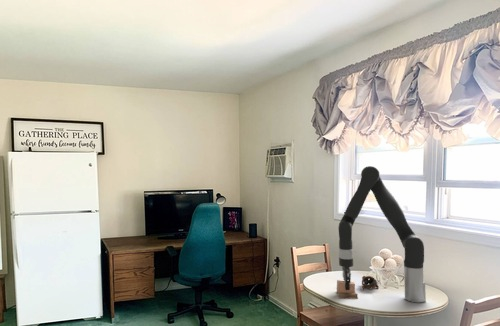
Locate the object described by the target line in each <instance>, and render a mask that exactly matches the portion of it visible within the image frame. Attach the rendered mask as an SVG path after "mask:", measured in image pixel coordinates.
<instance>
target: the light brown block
mask: <svg viewBox="0 0 500 326" xmlns="http://www.w3.org/2000/svg"><path fill="white" fill-rule="evenodd" d="M349 284H350V290H346V289H345V281H344V280H340V279H339V280H338V279H337V280H336V293H337V292H346V293H354V291H355V292H356V289H355V288H356V283H355V282H354V281H351V282H350V283H349Z"/></svg>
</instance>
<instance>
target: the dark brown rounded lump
mask: <svg viewBox="0 0 500 326" xmlns="http://www.w3.org/2000/svg"><path fill="white" fill-rule="evenodd" d="M361 279H362V280H361V285H362V286H361V289H362V291H364V290H371V289H373V288H376V289H379V285H378V284H379V282H378V281H377V279H376V278H375V277H374V276H372V275H368V276H367V275H363V276H362V277H361Z"/></svg>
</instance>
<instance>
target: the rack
mask: <svg viewBox="0 0 500 326" xmlns="http://www.w3.org/2000/svg"><path fill="white" fill-rule="evenodd" d="M336 294H337V297H338V299H346V300H347V299H348V300H349V299H352V300H357V299H359V297H358V293H356V290H355V291H354V293H346V292H337V291H336Z"/></svg>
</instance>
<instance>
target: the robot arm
mask: <svg viewBox="0 0 500 326" xmlns="http://www.w3.org/2000/svg"><path fill="white" fill-rule="evenodd" d="M360 175H361V176H360V181H359V183H358V186H357V188H356V190H355V192H354V194H353V195H352V198H351V199H350V201H349V203H348V205H347V207H346V209H345V212H344V214H343V215H342V217H341V219H340V221H339V224H338V238H339V240H338V265H339V266H340V267H342V268H341V271H342V278H343V281H345V289H346V290H350V284H349V283H350V282H352V281H351V280H352V279H351V277H352V273H351V271H352V270H351V269H350V268H352V267H354V252H353V251H354V250H353V239H352V237H353V236H352V235H353V226H354V224H355V221H356V219H357V218H358V216H359V215H360V213H361V211H362V208H363V206H364V204H365V202H366V200H367V197H368V196H369V194H370V192H372V194H373V195H374V198H375V200H376V202H377V205H378V206H379V208H380V210H381V212H382V214H383V215H384V217H385V218H386V220H387V222H388V223H389V224H390V225H391V226H392V228H393V229H394V230H395V232H396V234H397V236H398V238H399V239H400V242H401V244H402V247H403V248H404V259H403V275H404V276H403V277H404V278H403V280H404V299H405V300H406V301H409V302H412V303H423V302H426V301H427V300H426V299H427V298H426V292H427V291H426V282H425V281H424V279H425V278H424V277H425V276H424V275H425V274H424V263H425V245H424V241H423V240H422V239H421V238H419V236H418V235H416V233H415V232H414V230H413V229H412V228H411V226H410V225H409V224H408V223H409V222H408V221H407V218H406V215H405V213H404V211H403V209H402V207H401V205H400V204H399V203H398V201H397V199H396V198H395V196H393V194H392V193H391V191H389V189H388V188H387V186H386V185H385V183H384V182H383V180H382V178H381V175H380V171H379V169H378V168H377V167H375V166H370V165H369V166H366V167H364V168H363V169H362V170H361V172H360Z"/></svg>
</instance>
